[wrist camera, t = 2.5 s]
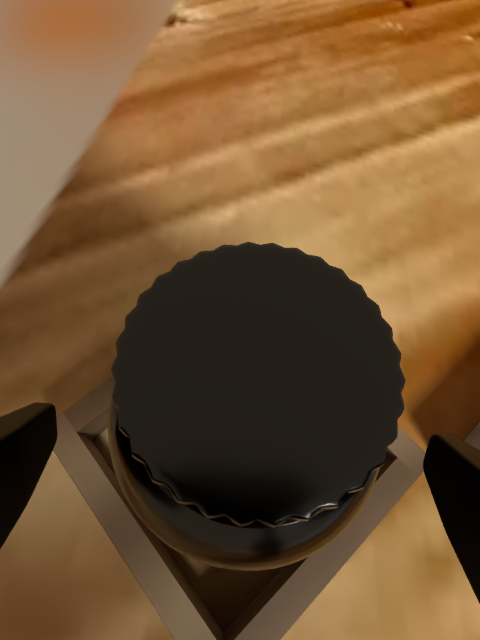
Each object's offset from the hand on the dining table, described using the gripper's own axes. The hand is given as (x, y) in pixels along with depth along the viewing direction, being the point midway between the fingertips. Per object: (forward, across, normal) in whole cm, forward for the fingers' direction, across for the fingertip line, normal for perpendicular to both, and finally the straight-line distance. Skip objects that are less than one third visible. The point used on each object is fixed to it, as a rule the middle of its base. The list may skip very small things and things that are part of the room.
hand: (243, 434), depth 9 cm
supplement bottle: (+6, 0, +6) cm, 9 cm away
